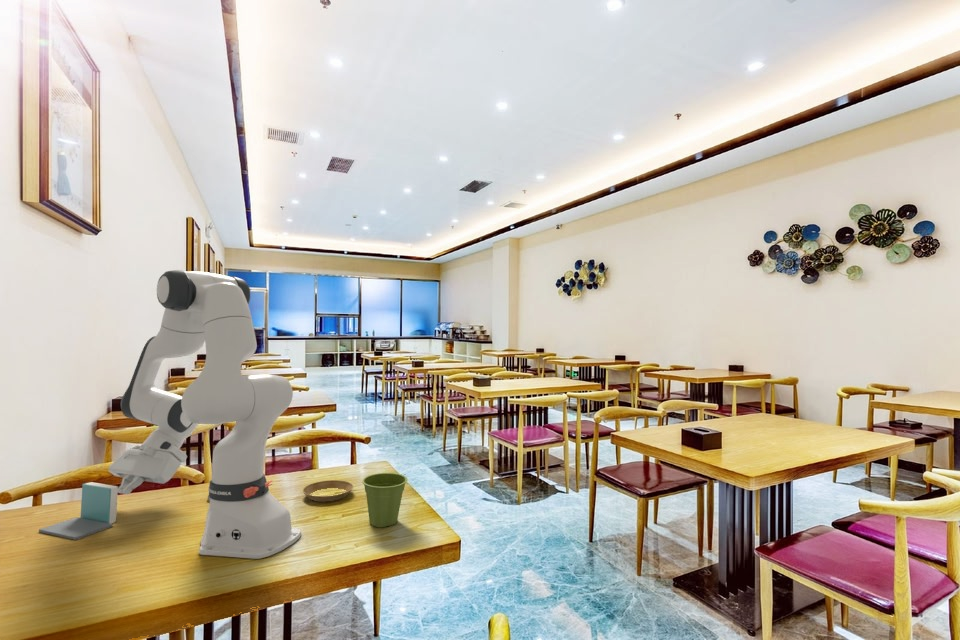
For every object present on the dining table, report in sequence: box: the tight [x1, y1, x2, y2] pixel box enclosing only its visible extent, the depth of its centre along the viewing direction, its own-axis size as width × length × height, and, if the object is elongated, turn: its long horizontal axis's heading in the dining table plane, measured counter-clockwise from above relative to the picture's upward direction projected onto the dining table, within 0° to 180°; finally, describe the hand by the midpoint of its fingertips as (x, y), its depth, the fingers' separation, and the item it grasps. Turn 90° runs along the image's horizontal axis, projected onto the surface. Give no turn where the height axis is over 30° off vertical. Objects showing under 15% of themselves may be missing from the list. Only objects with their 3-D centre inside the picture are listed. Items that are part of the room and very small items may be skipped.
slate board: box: [38, 516, 113, 541], centre depth 110 cm, size 13×8×1 cm, turn 73°
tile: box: [80, 481, 119, 524], centre depth 116 cm, size 10×2×9 cm, turn 73°
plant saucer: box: [302, 479, 354, 503], centre depth 137 cm, size 15×15×3 cm
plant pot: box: [361, 472, 408, 528], centre depth 118 cm, size 12×12×11 cm
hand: (122, 493), depth 121 cm, fingers closed
